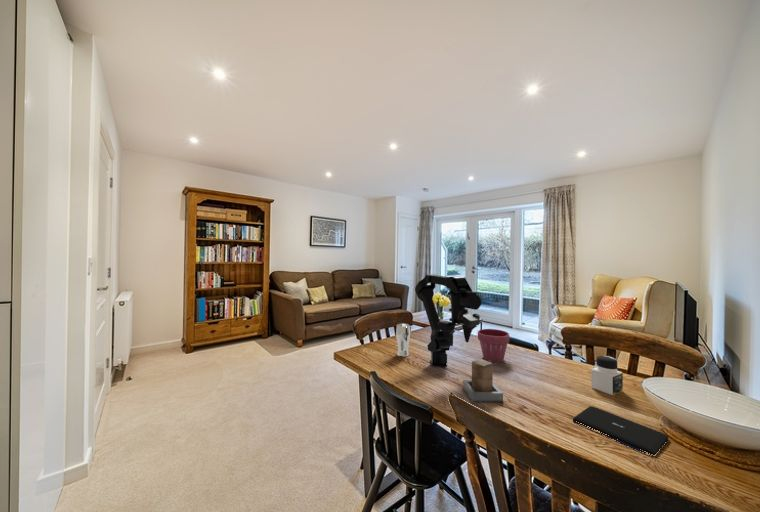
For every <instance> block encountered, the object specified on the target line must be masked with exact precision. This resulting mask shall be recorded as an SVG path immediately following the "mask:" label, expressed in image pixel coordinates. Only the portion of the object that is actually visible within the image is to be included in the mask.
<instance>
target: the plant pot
mask: <svg viewBox="0 0 760 512" xmlns="http://www.w3.org/2000/svg"><path fill="white" fill-rule="evenodd" d="M477 340H479V344H480V347H481V353H482V358H483V360H485V359H486V360H485V361H488V360H489V361H488V362H492V361H493V363H500V362H501V363H502V362H503V361H504V360H505V356H506V351H507V347H508V344H509V343H510V333H509V332H508V331H505V330H502V329H496V328H495V329H494V328H482V329H480V330H477Z"/></svg>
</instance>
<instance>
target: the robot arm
mask: <svg viewBox="0 0 760 512" xmlns="http://www.w3.org/2000/svg"><path fill="white" fill-rule="evenodd" d="M437 285H439V286H443V287H444V286H445V288H446V289H448V290H449V291H448V292H447V294H446V295H448V296H450V308H448V312H450V314H451V315H450V317H449V319H448V320H449V321H448V320H440V318H439V315H438V311H437V307H436V305H435V303H434V300H433V298H434V294H435V293H434V290H435V289H436V286H437ZM414 290H415V294H416V296H417V298H418V299H419V300H420V301H421V302H422V304H423V307H424V310H425V313H426V317H427V320H428V323H429V327H430V329H431V333H430V336H429V337H430V341H429V342H428V344H427V346H426V347H427V351H429V352H430V360H429V361H430V364H431V365H432V367H447V366H448V354H447V351H450V348H451V347H453V346H454V333H455V332H456V330H455V328H456V327H459V326H461V327H462V331H463V332H462V333H463V337H464V341H465V342H466V343H469V342H470V341H469V340H470V338H471V335H472V332H473V330H474V329H475V328H477V327H478V326H479V325H480V323H481V321H480V319H481V318H480V316H481V315H480V314H479V313H478V312H477V313H473V314H472V313H469V309H470V310H474V311H476V310H479V309H480V307H481V306H482V299H481V297H480V296H479V295H478V292H477V291H473V289H472V287H471V286H470V284H469V282H468V280H467V278H466V277H465V276H463V275H462V276H460V275H459V276H443V275H438V274H435V273H434V274H433V273H432V274H431V273H429V274H426V275H425V276H424V278H422V279H421V280H419V281H418V282H417V284H416V286H415V287H414Z"/></svg>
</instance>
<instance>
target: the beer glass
mask: <svg viewBox="0 0 760 512" xmlns="http://www.w3.org/2000/svg"><path fill="white" fill-rule="evenodd" d="M395 334H396V335H395V336H396V337H395V338H396V342H397V343H396V344H397V354H396V355H397V356H398V357H400V356H402V357H401V358H405V356H407V357H409V356H410V350H409V345H410V340H411V327H410V324H408V323H398V324H396V332H395Z"/></svg>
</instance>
